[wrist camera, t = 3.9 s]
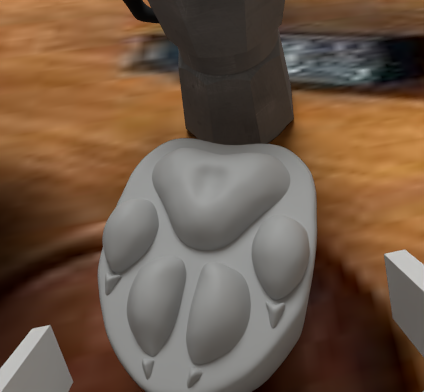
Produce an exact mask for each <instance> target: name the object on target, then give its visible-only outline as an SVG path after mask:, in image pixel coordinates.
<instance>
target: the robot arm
mask: <svg viewBox="0 0 424 392" xmlns="http://www.w3.org/2000/svg"><path fill="white" fill-rule="evenodd" d="M384 258H385V265H386V272H387V280H388V287H389V294H390V302H391V309H392V316H393V319H394V320H395V322H396V323H397V324H398V325H399V327H400V328H401V329H402V330H403V332H404V333H405V334H406V335H407V337H408V338H409V339H410V341H411V342H412V343H413V344H414V346H415V347H416V348H417V349H418V351H419V352H420V353H421V354H422V356H423V357H424V265H423V264H422V263H421V262H420V261H418V260H417V259H416V258H415V257H413V256H412V255H411V254H410V253H409V252H407V251H406V250H401V251H396V252H391V253H386V254H384ZM72 383H73V380H72V378H71V375H70V373H69V370H68V368H67V365H66V363H65V360H64V358H63V355H62V353H61V350H60V348H59V345H58V343H57V340H56V338H55V335H54V333H53V330H52V328H51V325H48V326H43V327H38V328H33V329H32V330H31V331H30V332H29V333H28V335H27V336H26V337H25V338H24V340H23V341H22V342H21V343H20V345H19V346H18V347H17V348H16V350H15V351H14V352H13V353H12V355H11V356H10V357H9V358H8V360H7V361H6V362H5V363H4V365H3V366H2V367H1V368H0V392H68V391H69V389H70V387H71V385H72Z"/></svg>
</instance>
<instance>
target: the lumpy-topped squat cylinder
mask: <svg viewBox="0 0 424 392" xmlns="http://www.w3.org/2000/svg"><path fill="white" fill-rule="evenodd" d="M316 243H317V200H316V190H315V184H314V180H313V177H312V174H311V172H310V170H309V169H308V167H307V166H306V165H305V163H304V162H303V161H302V160H301V159H300V158H299V157H298V156H296V155H295V154H294V153H293V152H291V151H290V150H288V149H286V148H284V147H281V146H278V145H273V144H246V145H222V144H216V143H211V142H207V141H203V140H199V139H191V138H180V139H174V140H171V141H168V142H166V143H164V144H162V145H160V146H158V147H157V148H156V149H154V150H153V151H152V152H150V153H149V154H148V155H147V156H146V157H145V158H144V159H143V160H142V161H141V162H140V163H139V164H138V165H137V167H136V168H135V170H134V171H133V173H132V174H131V176H130V178H129V181H128V182H127V184H126V187H125V189H124V191H123V193H122V196H121V198H120V200H119V202H118V204H117V206H116V208H115V209H114V211H113V212H112V214H111V215H110V217H109V218H108V220H107V222H106V225H105V228H104V232H103V249H102V252H101V256H100V261H99V267H98V286H99V296H100V303H101V309H102V314H103V320H104V324H105V329H106V333H107V336H108V338H109V341H110V343H111V346H112V348H113V350H114V352H115V354H116V355H117V357H118V359H119V361H120V362H121V364H122V365H123V366H124V368H125V370H126V371H127V372H128V374H129V375H130V376H131V377H132V379H133V380H134V381H135V382H136V383H137V384H138V385H139V386H140V387H141V388H142V389H143V390H145V391H146V392H252V391H254V390H255V389H257V388H258V387H260V386H261V385H262V384H264V383H265V382H266V381H267V380H268V379H269V378H270V377H271V376H272V374H273V373H274V372H275V371H276V370H277V369H278V367H279V366H280V365H281V364H282V362H283V361H284V360H285V359H286V357H287V356H288V355H289V353H290V352H291V350H292V349H293V347H294V346H295V344H296V343H297V341H298V339H299V338H300V335H301V332H302V329H303V325H304V321H305V316H306V310H307V305H308V299H309V294H310V288H311V283H312V277H313V270H314V263H315V254H316Z"/></svg>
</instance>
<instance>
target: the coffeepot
mask: <svg viewBox="0 0 424 392" xmlns="http://www.w3.org/2000/svg"><path fill="white" fill-rule="evenodd" d="M123 1H124V3H125V4H126V5H127V7H128V8H129V9H130V11H131V12H132V14H133V16H134V17H135V18H136V19H137V20H140V21H143V22H150V23H160V25H161V27H162V29H163V31H164V33H165V34H166V36H167V38H168V39H169V40H170V41H171V42H173V43H174V44H175V45H176V46H178V49H179V75H180V83H181V92H182V100H183V109H184V117H185V126H186V129H187V130H188V131H190V132H191V133H192V134H193V135H194V136H196V137H197V138H198V139H199V140H203V141H207V142H211V143H216V144H222V145H246V144H268V143H269V142H270V141H272V140H273V139H274V138H276V137H277V136H278V135H279V134H280V133H281V132H282V131H283V130H284V129H285V127H286V125H288V124H289V123H290V122H291V121H292V120H293V119H294V117H293V105H292V94H291V84H290V80H289V75H288V71H287V66H286V62H285V57H284V52H283V48H282V43H281V39H280V34H279V30H278V27H279V26H280V25H281V24H282V17H283V10H284V3H285V0H148V2H149V4H150V6H151V8H150V7H148V6H147V5H146V4H145V3H144V2H143V1H142V0H123Z"/></svg>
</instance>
